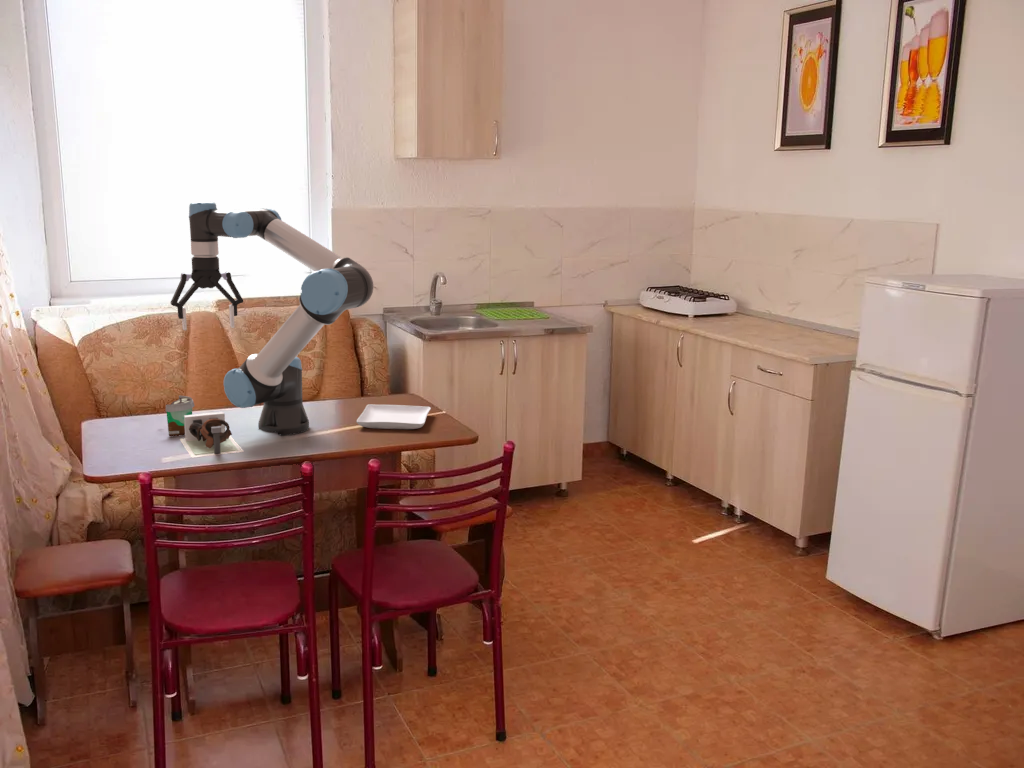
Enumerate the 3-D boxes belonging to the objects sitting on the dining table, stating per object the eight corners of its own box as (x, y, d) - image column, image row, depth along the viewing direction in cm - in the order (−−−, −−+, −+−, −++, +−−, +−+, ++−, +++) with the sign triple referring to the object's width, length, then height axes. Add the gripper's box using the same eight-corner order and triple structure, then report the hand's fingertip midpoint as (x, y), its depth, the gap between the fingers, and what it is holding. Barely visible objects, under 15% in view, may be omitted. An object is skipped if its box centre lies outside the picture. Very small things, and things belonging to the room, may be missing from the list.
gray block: (221, 452, 259) (220, 426, 257) (222, 453, 257) (221, 427, 256) (212, 453, 258) (211, 426, 256) (213, 454, 256) (212, 428, 254)
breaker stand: (228, 436, 277) (227, 410, 275) (244, 455, 260) (242, 427, 258) (179, 442, 271) (178, 415, 269) (191, 461, 254) (190, 432, 252)
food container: (188, 438, 275) (186, 405, 273) (167, 437, 275) (165, 405, 272) (201, 427, 287) (199, 395, 285) (181, 426, 287) (179, 395, 284)
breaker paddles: (218, 427, 272) (217, 417, 272) (218, 428, 272) (218, 418, 271) (193, 430, 269) (192, 419, 268) (193, 430, 268) (193, 420, 268)
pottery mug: (233, 439, 272) (236, 419, 267) (224, 462, 264) (227, 441, 259) (191, 429, 270) (194, 409, 265) (181, 451, 263) (183, 431, 258)
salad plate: (424, 433, 287) (424, 422, 286) (355, 431, 287) (355, 420, 287) (431, 415, 308) (431, 405, 307) (367, 413, 308) (367, 403, 307)
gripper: (245, 254, 279) (248, 324, 284) (157, 255, 267) (162, 328, 272) (251, 256, 273) (254, 327, 277) (161, 258, 261) (166, 332, 266)
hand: (208, 328), depth 275 cm, fingers open, 13 cm apart
